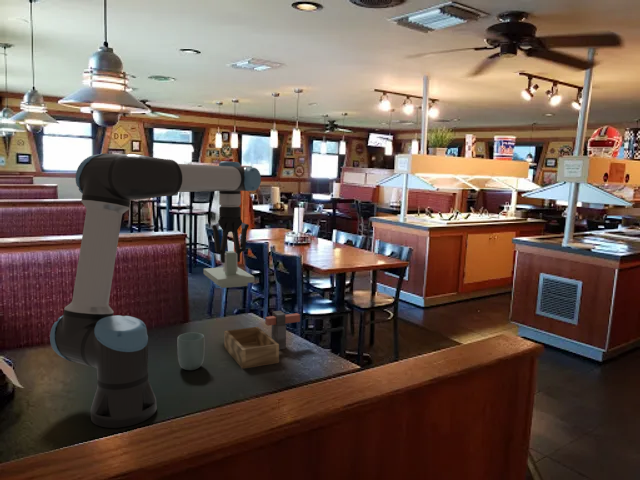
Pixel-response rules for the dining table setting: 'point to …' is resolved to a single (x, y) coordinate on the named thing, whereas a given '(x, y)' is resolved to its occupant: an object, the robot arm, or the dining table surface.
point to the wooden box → (257, 343)
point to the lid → (229, 274)
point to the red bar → (288, 319)
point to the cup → (190, 350)
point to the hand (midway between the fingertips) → (230, 271)
